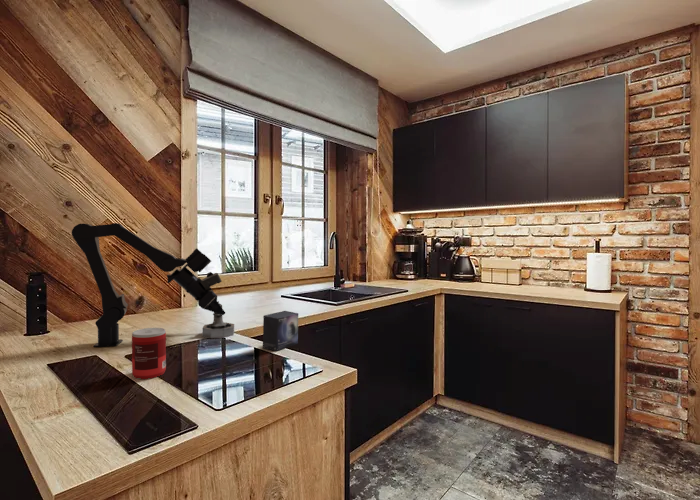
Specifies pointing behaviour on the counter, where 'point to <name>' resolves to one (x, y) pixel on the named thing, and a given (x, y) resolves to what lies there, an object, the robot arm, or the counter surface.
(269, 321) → the small box
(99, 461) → the counter surface
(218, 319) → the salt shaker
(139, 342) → the canned food
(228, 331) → the grey polygonal dish
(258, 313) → the counter surface
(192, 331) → the counter surface
